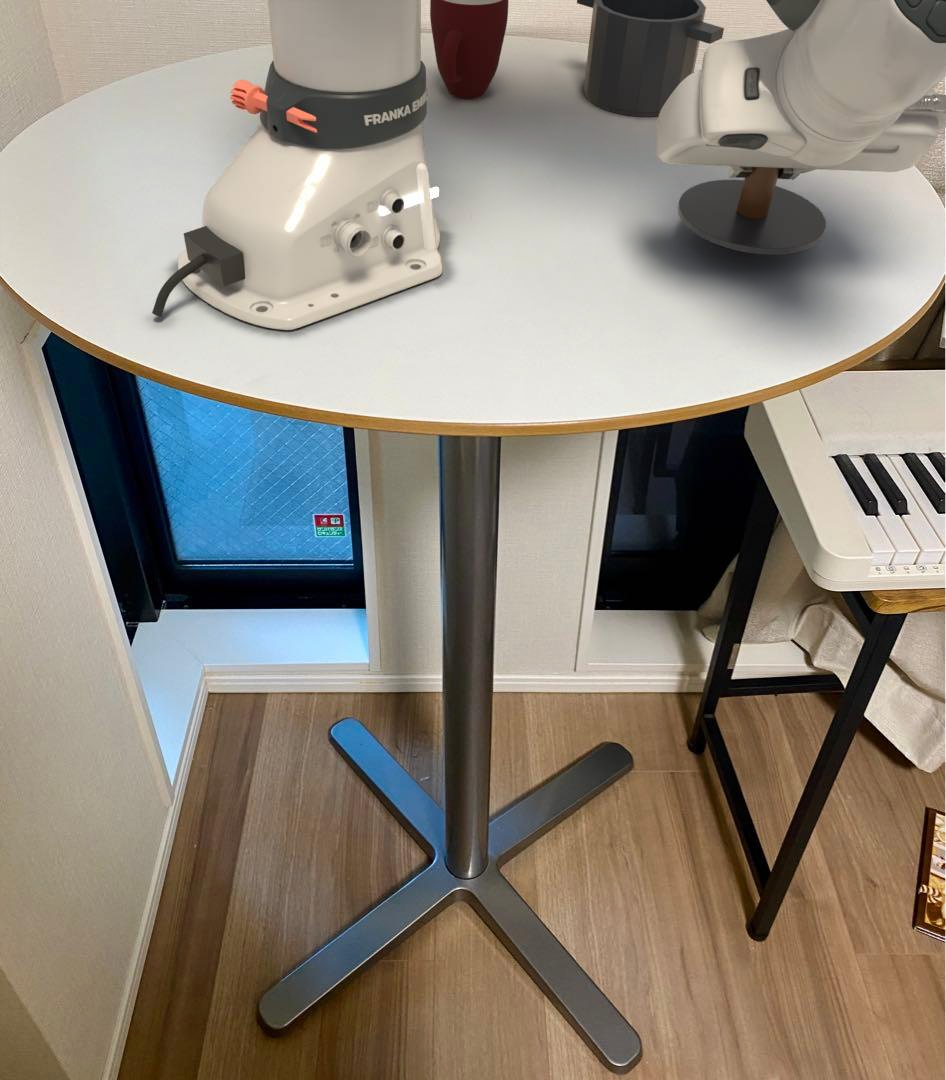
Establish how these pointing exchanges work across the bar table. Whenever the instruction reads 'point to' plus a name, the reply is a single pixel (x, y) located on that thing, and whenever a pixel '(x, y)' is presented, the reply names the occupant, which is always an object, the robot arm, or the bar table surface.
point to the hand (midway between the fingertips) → (760, 169)
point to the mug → (468, 43)
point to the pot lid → (752, 214)
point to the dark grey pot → (642, 51)
